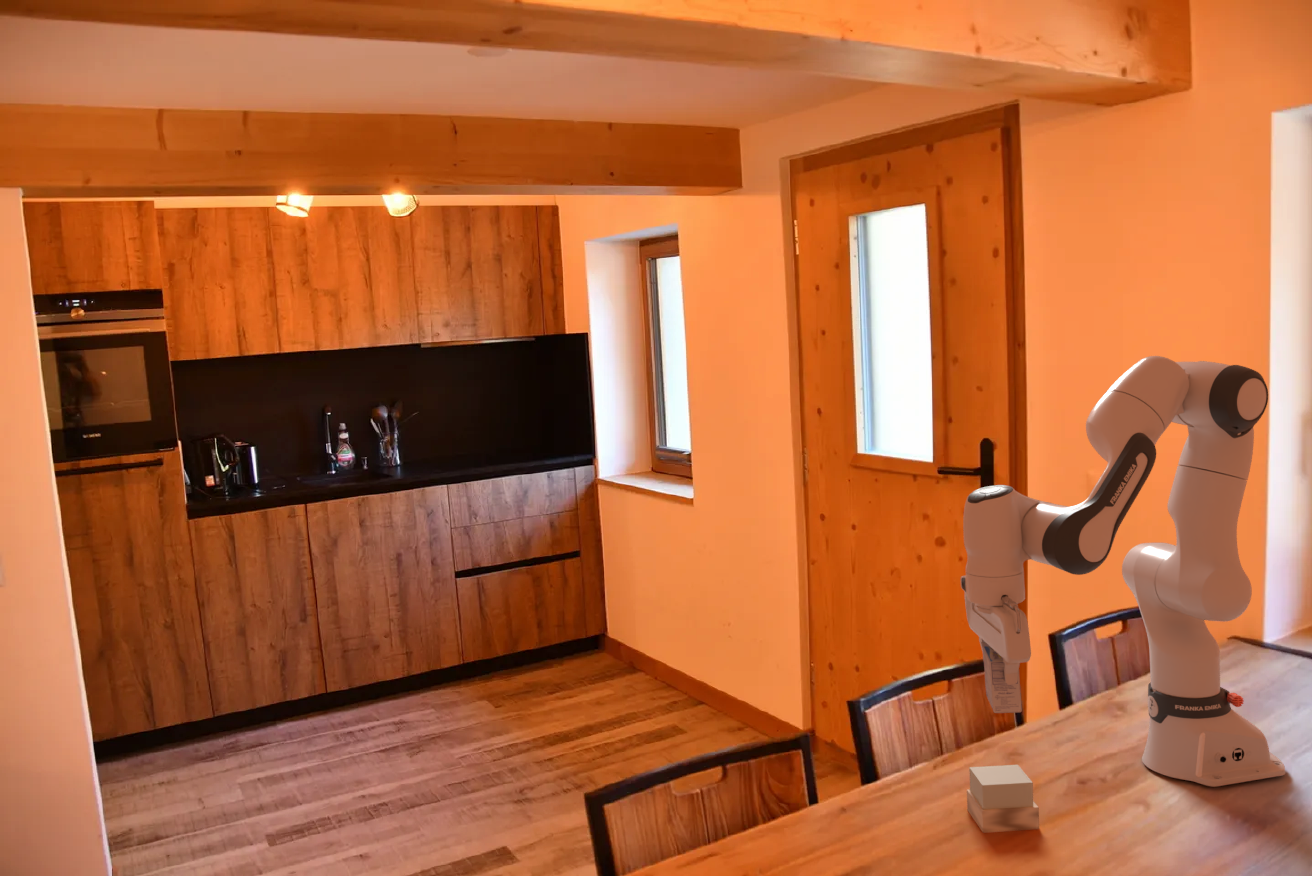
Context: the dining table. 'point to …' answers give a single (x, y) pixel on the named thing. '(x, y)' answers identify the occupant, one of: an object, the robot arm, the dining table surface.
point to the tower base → (1003, 817)
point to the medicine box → (1000, 684)
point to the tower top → (1001, 787)
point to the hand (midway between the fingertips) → (999, 672)
